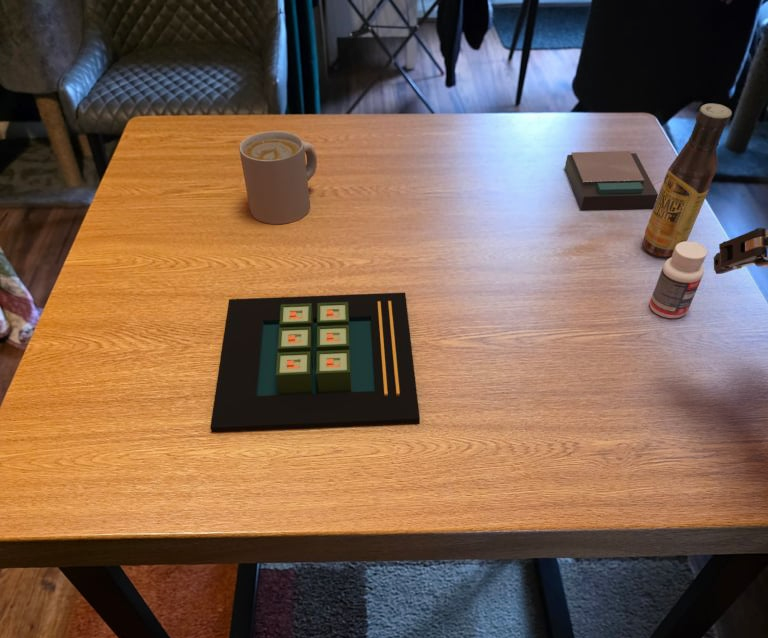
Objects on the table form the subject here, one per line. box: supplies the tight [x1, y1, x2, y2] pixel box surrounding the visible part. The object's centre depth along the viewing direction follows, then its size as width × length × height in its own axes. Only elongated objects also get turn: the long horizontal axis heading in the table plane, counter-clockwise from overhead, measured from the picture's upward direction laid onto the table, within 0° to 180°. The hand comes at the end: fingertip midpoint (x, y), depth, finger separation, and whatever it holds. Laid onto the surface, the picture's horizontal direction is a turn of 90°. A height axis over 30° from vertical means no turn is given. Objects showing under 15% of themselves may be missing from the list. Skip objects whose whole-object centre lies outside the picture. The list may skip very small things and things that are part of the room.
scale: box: [564, 150, 659, 211], centre depth 111 cm, size 12×14×3 cm
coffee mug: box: [238, 130, 318, 225], centre depth 106 cm, size 13×10×10 cm
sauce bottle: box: [642, 103, 733, 258], centre depth 93 cm, size 6×6×20 cm
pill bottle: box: [649, 240, 708, 319], centre depth 89 cm, size 5×5×9 cm
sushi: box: [209, 292, 421, 433], centre depth 85 cm, size 25×25×4 cm
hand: (753, 260), depth 74 cm, fingers open, 8 cm apart
